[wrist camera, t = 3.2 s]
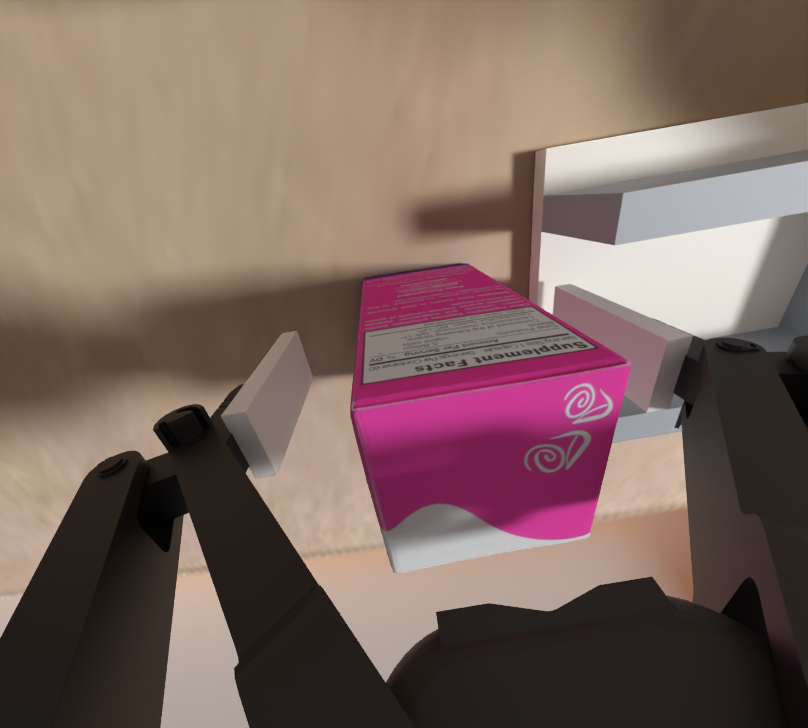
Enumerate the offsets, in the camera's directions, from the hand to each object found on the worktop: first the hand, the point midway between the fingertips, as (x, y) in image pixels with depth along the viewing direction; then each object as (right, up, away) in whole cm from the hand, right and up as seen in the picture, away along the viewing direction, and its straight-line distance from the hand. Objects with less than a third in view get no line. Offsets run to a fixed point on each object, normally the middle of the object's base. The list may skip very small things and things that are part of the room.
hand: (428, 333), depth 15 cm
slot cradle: (+14, +3, +2) cm, 14 cm away
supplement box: (0, +1, +2) cm, 2 cm away
